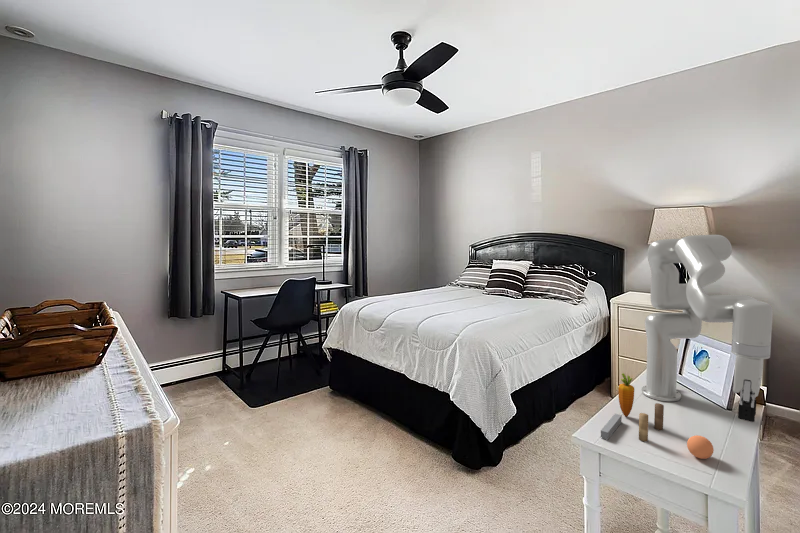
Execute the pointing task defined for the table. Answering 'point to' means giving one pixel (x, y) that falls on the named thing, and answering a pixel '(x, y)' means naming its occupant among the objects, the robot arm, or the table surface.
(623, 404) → the carrot
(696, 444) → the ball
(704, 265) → the robot arm
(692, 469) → the table surface
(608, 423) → the back wall
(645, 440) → the oak pin
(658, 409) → the walnut pin
